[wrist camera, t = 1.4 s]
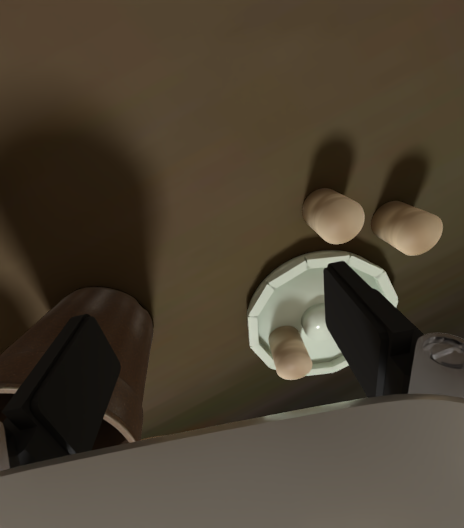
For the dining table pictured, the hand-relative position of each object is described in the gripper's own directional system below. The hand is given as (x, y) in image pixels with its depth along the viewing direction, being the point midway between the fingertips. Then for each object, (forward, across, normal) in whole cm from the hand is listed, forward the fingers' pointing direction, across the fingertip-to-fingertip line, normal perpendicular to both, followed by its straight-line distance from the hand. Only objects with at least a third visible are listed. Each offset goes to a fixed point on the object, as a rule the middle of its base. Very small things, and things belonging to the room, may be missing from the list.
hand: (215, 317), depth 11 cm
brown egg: (+19, -20, +6) cm, 28 cm away
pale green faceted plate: (+19, -10, +18) cm, 28 cm away
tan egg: (+19, -12, +3) cm, 23 cm away
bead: (+18, -6, +20) cm, 28 cm away
